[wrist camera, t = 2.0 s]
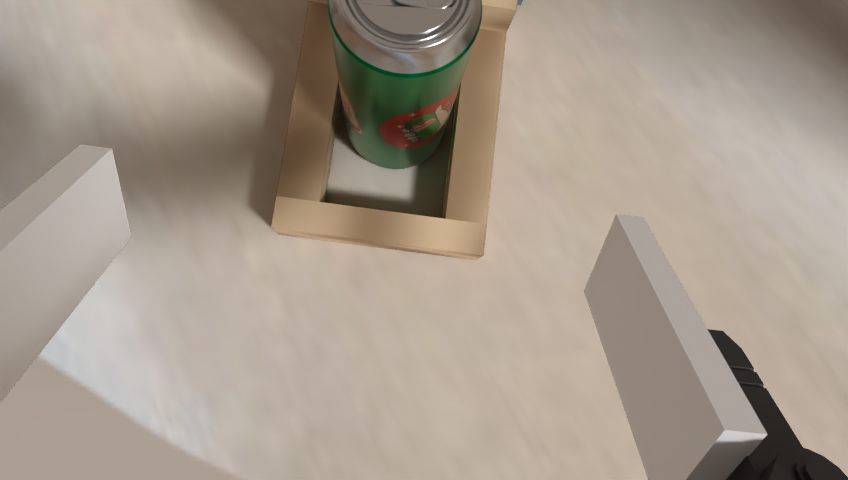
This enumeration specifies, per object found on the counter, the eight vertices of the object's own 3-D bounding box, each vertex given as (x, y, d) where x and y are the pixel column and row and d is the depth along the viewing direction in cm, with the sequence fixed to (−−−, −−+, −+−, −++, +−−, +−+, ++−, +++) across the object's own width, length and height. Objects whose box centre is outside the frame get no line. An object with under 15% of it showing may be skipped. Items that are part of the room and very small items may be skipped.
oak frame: (500, 27, 30) (519, -19, 26) (476, 259, 27) (492, 249, 24) (317, -3, 29) (308, -54, 25) (278, 234, 27) (261, 219, 23)
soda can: (355, 72, 28) (340, -106, 17) (449, 89, 29) (499, -73, 17) (338, 163, 28) (309, 44, 16) (435, 180, 28) (477, 75, 16)
